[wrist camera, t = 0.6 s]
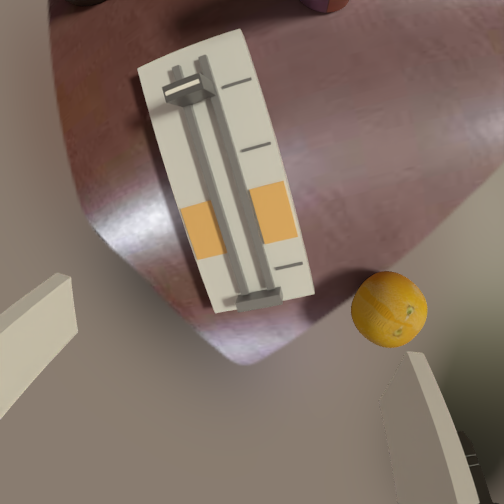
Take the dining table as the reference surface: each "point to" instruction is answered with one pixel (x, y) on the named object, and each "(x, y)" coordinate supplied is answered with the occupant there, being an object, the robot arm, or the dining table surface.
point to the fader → (189, 90)
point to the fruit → (389, 309)
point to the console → (229, 177)
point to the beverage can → (325, 5)
